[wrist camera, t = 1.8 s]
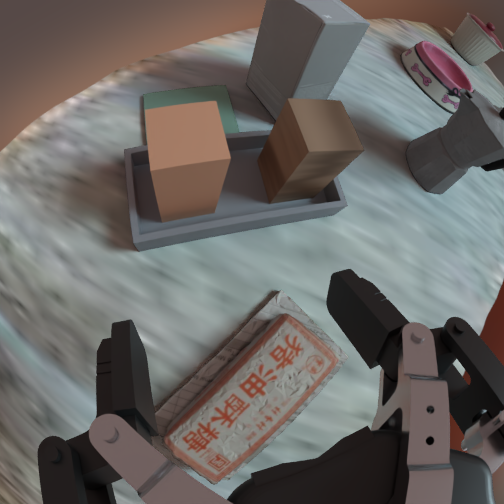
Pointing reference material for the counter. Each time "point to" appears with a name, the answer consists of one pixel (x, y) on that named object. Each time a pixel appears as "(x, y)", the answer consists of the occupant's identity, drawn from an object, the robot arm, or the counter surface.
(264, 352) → the packaged product
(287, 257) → the counter surface
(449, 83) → the dog bowl
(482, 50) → the canister
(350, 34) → the skincare box
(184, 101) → the green mat
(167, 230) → the grey bin
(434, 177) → the coffeepot
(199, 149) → the terracotta carton
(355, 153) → the walnut block
